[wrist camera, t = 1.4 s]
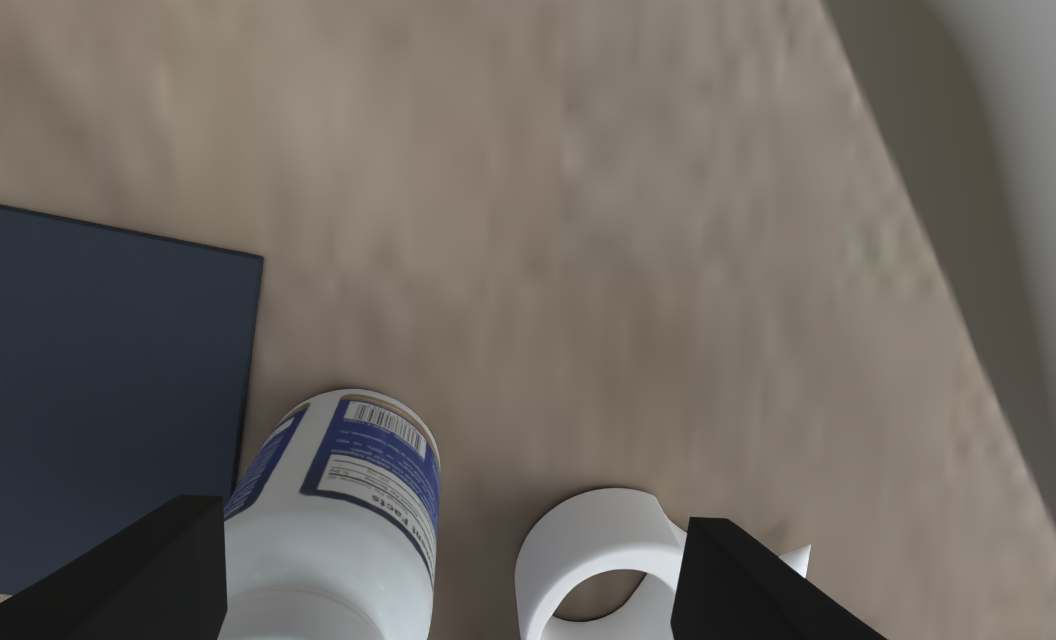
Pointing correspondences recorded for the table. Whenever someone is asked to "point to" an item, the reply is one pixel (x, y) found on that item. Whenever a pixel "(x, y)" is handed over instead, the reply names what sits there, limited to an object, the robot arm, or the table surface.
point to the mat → (113, 381)
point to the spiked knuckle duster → (605, 565)
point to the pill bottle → (335, 525)
